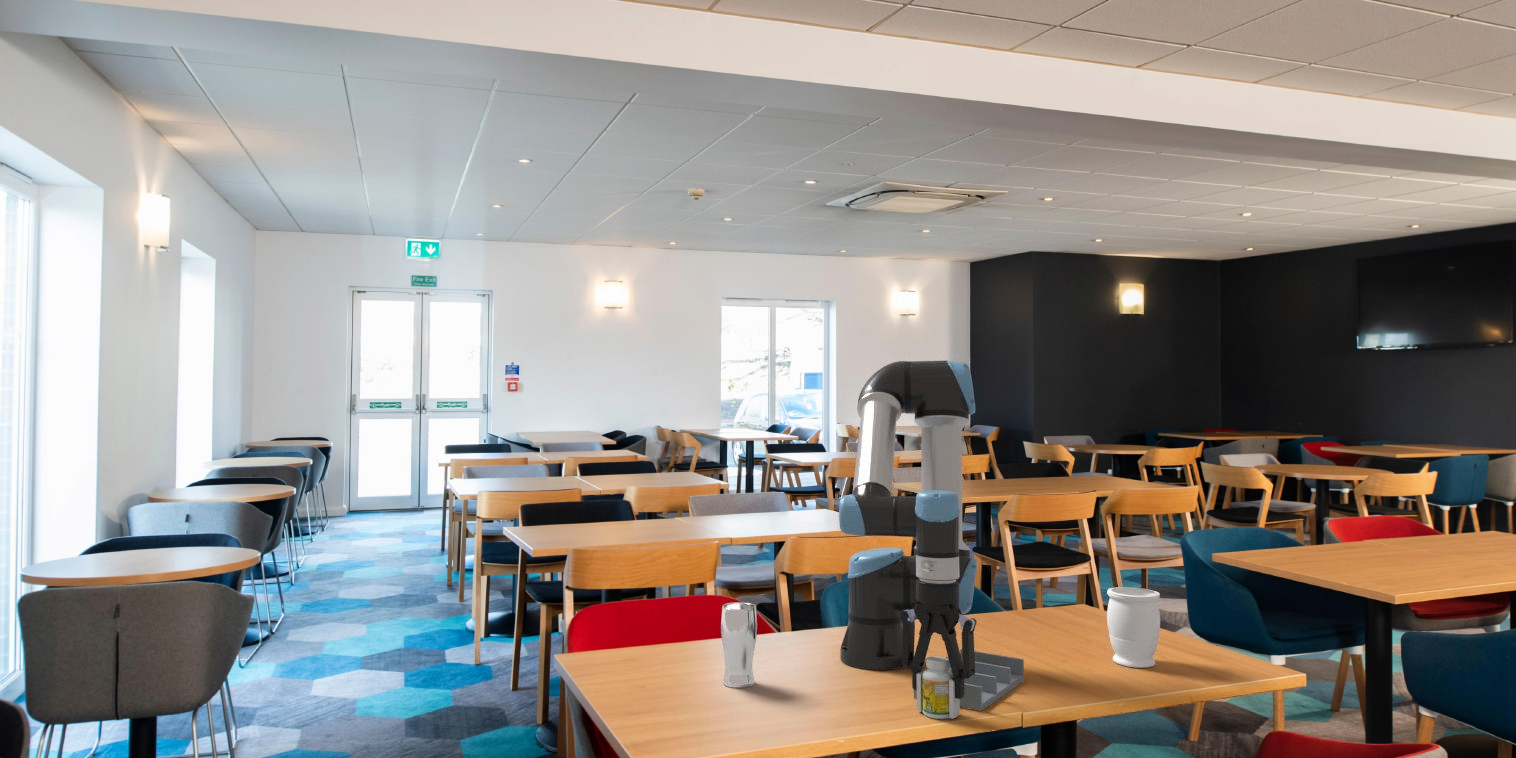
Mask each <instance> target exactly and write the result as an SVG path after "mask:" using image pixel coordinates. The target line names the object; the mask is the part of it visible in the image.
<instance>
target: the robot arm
mask: <svg viewBox="0 0 1516 758" xmlns="http://www.w3.org/2000/svg"><path fill="white" fill-rule="evenodd" d="M971 373H972V372H971V369H970V366H969V364H967V363H966V362H965V361H959V360H957V361H956V360H948V359H946V360H920V361H919V360H916V361H909V360H908V361H907V360H899V361H894V362H890V363H888V364H886V365H884V366H883V367H881V368H880V369H878V370H877V371H875V373H873V374H872V375H871V376H870V377H869V378H868V379H867V381H866V382H865V384H864V385H863V387H862V388H861V390H860V393H859V395H858V400H857V406H856V409H857V414H858V416H859V418H860V423H859V429H858V431H859V433H858V441H857V449H856V459H855V469H854V477H853V485H852V486H853V488H852V493H850V494H848V495H846V494H845V495H842V496H841V498H840V500H839V504H838V505H839V506H838V507H839V509H838V523H839V529H840V531H841V532H842V533H843V534H845V535H852V536H861V537H866V536H870V537H871V536H874V537H907V538H915V546H914V547H913V555H905V552H904V549H902V548H900V547H880V548H871V549H867V550H866V549H865V550H862V551H859V552H856V553H854V554H853V555H851V557H850V558H849V562H848V574H847V579H848V624H847V627H846V630H845V633H844V636H843V639H842V642H841V646H840V652H839V653H840V657H839V658H840V661H841V662H842V663H844V664H845V665H847V666H851V667H855V668H859V669H866V670H882V671H883V670H896V669H901V668H907V669H909V670H910V671H911V676H912V677H911V678H912V679H911V681H912V682H911V683H912V684H911V687H912V690H913V691H914V690H916V691H917V698H916V712H918V713H922V712H923V688H922V675H923V672H924V671H925V670H926V669H924V668H925V666H926V665H925V663H926V658H927V653H928V650H929V646H930V642H931V639H932V636H933V635H934V633H935V634H937V635H941V636H940V637H941V638H942V639H941V640H942V641H943V642H944V646H945V649H946V654H947V657H948V658H949V662H950V666H951V670H952V674H953V678H952V679H950V680H949V718H948V719H952V720H954V719H955V718H957V717H959V716H960V715H961V713H960V708H961V707H960V699H961V698H963V697H964V679H968V678H970V677H971V676H973V675H974V674H975V654H974V651H975V634H974V632H975V629H976V627H977V626H976V625H977V621H978V620H977V619H976V618H975V617H972V618H969V617H968V616H965V615H966V614H967V613H969V612H970V611H971V609H972V606H973V599H974V592H975V585H976V584H975V583H976V575H977V565H978V560H977V559H976V557H975V558H974V557H973V556H972V557H971V548H969V547H968V546H967V544H966V543H965V542H964V540H963V451H962V450H963V449H962V448H963V446H962V445H963V442H962V441H963V436H962V435H963V432H962V431H963V429H964V427H965V426H967V424H969V422H970V421H969V420H970V419H969V416H971V415H973V414H975V413H976V403H975V402H976V401H975V393H974V384H973V380H972V374H971ZM902 414H911V415H914V423H915V424H916V425H917V426H918V427H919V428H920V429H921V473H920V474H921V478H920V479H921V489H920V491H919V492H917V494H916V496H902V495H901V496H900V495H899V496H898V495H897V496H894V495H893V494H892V491H893V477H894V476H893V475H894V462H895V446H896V433H897V430H896V429H897V421H898V420H899V419H901V418H900V417H901V416H902ZM916 618H917V619H916ZM916 620H918V621H919V623H920V629H919V632H918V635H919V636H918V639H917V640H918V641H917V645H916V648H915V633H916V632H915V631H916V622H915V621H916ZM958 623H959V624H960V626H959V628H960V629H961V649H962V658H963V663H962V659H961V655H960V648H959V643H958V640H957V631H956V628H955V627H956V625H958ZM924 665H925V666H924ZM923 669H924V670H923Z"/></svg>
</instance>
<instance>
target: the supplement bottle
mask: <svg viewBox="0 0 1516 758" xmlns="http://www.w3.org/2000/svg"><path fill="white" fill-rule="evenodd" d="M925 666H926V669H924V670H925V671H924V672H923V675H922V688H923V711H922V713H923V714H924V716H925V717H928V718H930V719H936V720H937V719H938V720H946V719H947V720H948V719H950V718H949V680H950V679H952V678H953V674H952V672H950V671H949V670H948V669H949V667H950V665H949V659H947V658H946V657H945V656H928V657H926V658H925Z"/></svg>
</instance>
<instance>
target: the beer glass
mask: <svg viewBox="0 0 1516 758" xmlns="http://www.w3.org/2000/svg"><path fill="white" fill-rule="evenodd" d="M721 607H722V608H721V622H720V634H721V643H722V651H723V654H724V660H725V661H724V663H725V671H724V675H723V681H722V682H723V685H724V686H725V687H728V688H732V689H733V688H734V689H745V688H750V687H752V686H755V677H754V672H753V671H754V670H753V659H754V654H755V648H756V643H757V635H758V634H757V632H758V631H757V630H758V621H757V620H758V619H757V605H756V604H754V603H751V602H742V601H741V602H738V601H737V602H736V601H735V602H727V603H725V604H723V605H722V606H721Z"/></svg>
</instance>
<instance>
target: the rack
mask: <svg viewBox="0 0 1516 758" xmlns="http://www.w3.org/2000/svg"><path fill="white" fill-rule="evenodd" d="M959 651H960V655H961V659H962V663H963V658H962V648H960V649H959ZM974 654H975V674H974V675H973V676H971V677H970V678H968V679H964V697H963V698H961V699H960V708H962V707H963V709H967V708H970V709H969V710H971V709H975V710H974V711H976V710H980V711H979V712H982V711H984V710H985V709H987V708H988V707H989V706H991V705H992V704H994V703H995V702H996V701H997V700H999V699H1001V698H1002V697H1003V696H1005V695H1006V694H1007V693H1009V692H1010V691H1012V690H1013V689H1015V688H1017V686H1019V685H1020V684H1021V683H1023V682H1025V664H1024V663H1025V659H1024V658H1019V657H1011V656H1007V655H1000V654H994V653H987V652H982V651H977V650H974ZM945 658H947V659H949V658H948V656H946V657H945ZM949 665H950V662H949ZM948 670H949V671H950V672H952V670H951V666H950V667H949V669H948ZM1000 697H1001V698H1000ZM913 698H914V699H917V691H916V690H913ZM990 704H991V705H990ZM984 708H985V709H984ZM983 709H984V710H983ZM981 710H982V711H981Z"/></svg>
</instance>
